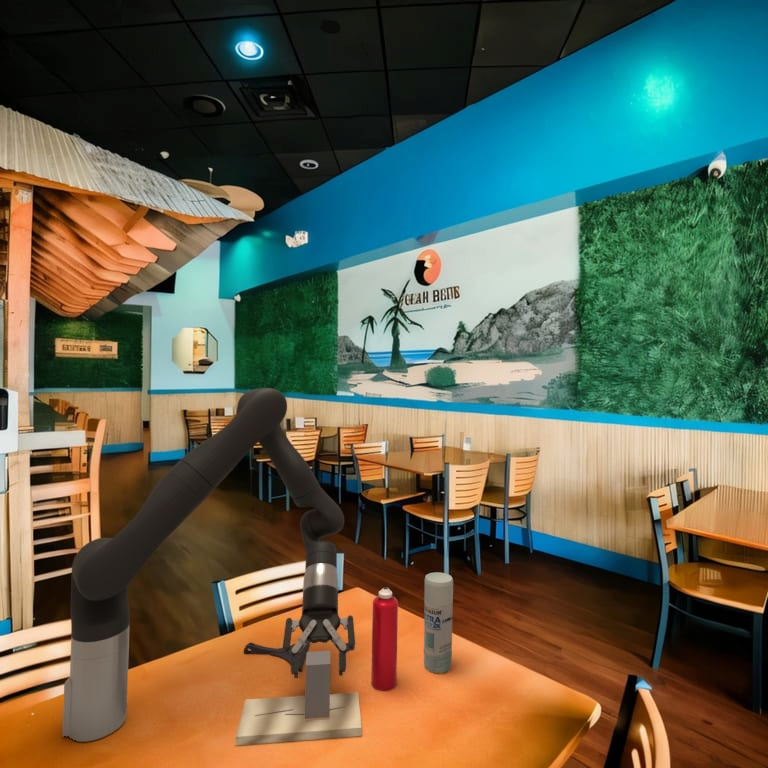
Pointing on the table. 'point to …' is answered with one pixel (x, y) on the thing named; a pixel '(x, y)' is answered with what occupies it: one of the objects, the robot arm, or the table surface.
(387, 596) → the bottle
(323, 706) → the block
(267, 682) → the table surface
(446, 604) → the spray paint can
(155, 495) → the robot arm
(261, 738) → the board
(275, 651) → the squeegee
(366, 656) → the table surface
